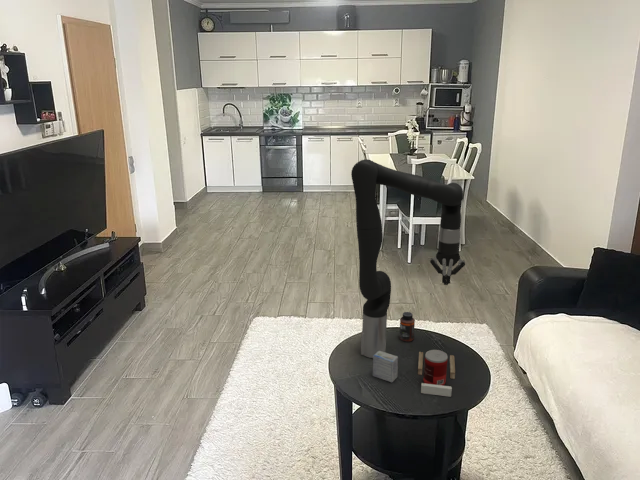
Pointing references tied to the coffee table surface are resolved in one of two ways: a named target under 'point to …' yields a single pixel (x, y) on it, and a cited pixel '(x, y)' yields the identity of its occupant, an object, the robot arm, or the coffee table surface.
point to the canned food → (435, 367)
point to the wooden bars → (452, 365)
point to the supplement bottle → (407, 327)
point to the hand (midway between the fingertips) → (445, 284)
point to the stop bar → (436, 389)
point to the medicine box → (385, 366)
